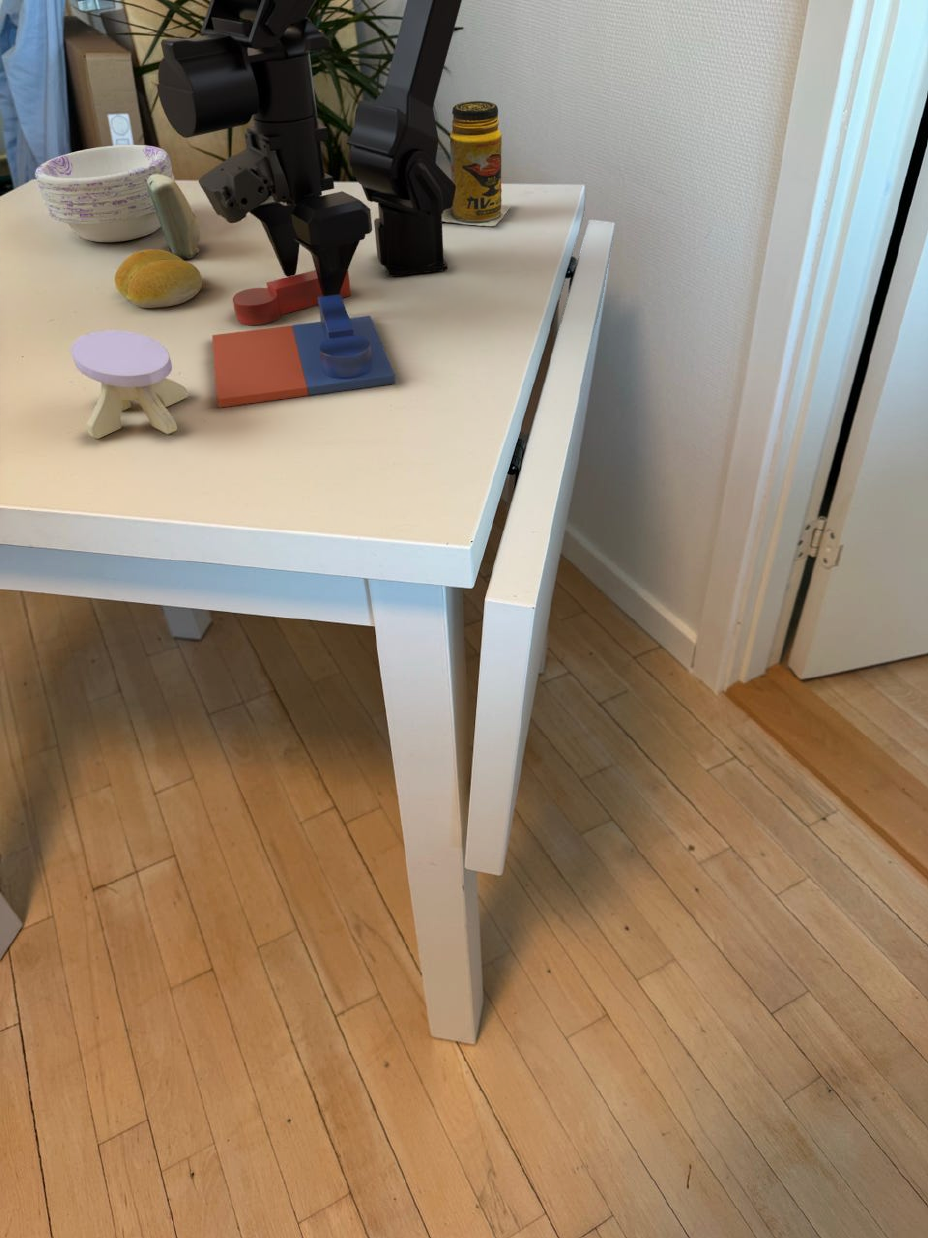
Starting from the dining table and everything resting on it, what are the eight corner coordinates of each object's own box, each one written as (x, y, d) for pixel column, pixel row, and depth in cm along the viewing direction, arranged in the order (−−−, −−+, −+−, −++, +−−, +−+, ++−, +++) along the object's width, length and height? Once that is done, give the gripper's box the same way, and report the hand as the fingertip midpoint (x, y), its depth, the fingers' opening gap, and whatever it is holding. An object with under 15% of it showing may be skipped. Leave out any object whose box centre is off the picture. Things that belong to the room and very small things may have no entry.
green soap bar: (145, 255, 100) (126, 180, 95) (179, 241, 103) (161, 167, 98) (181, 263, 98) (163, 187, 92) (214, 249, 101) (198, 174, 96)
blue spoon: (309, 325, 83) (305, 297, 81) (355, 319, 84) (352, 292, 82) (325, 381, 74) (321, 352, 72) (376, 374, 75) (373, 346, 73)
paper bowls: (52, 221, 110) (29, 152, 105) (174, 203, 114) (158, 136, 109) (61, 261, 99) (36, 186, 94) (195, 239, 104) (178, 166, 98)
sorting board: (370, 323, 85) (370, 315, 84) (395, 383, 75) (394, 374, 75) (213, 342, 82) (212, 334, 82) (218, 407, 73) (216, 399, 72)
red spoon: (336, 285, 92) (333, 260, 90) (356, 298, 89) (353, 273, 87) (229, 314, 87) (224, 288, 85) (247, 329, 84) (241, 302, 83)
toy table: (66, 411, 73) (42, 346, 69) (167, 378, 77) (150, 315, 73) (109, 459, 67) (86, 390, 63) (216, 420, 71) (200, 354, 67)
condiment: (495, 227, 104) (495, 113, 96) (428, 221, 106) (422, 110, 98) (511, 208, 109) (512, 98, 101) (447, 203, 111) (443, 95, 103)
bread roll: (146, 317, 87) (135, 277, 84) (109, 292, 92) (97, 253, 90) (220, 294, 91) (211, 255, 88) (180, 271, 96) (171, 233, 93)
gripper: (161, 109, 80) (200, 279, 91) (241, 152, 69) (275, 342, 79) (272, 91, 85) (297, 255, 95) (365, 129, 73) (382, 311, 83)
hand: (310, 289), depth 88 cm, fingers open, 9 cm apart
